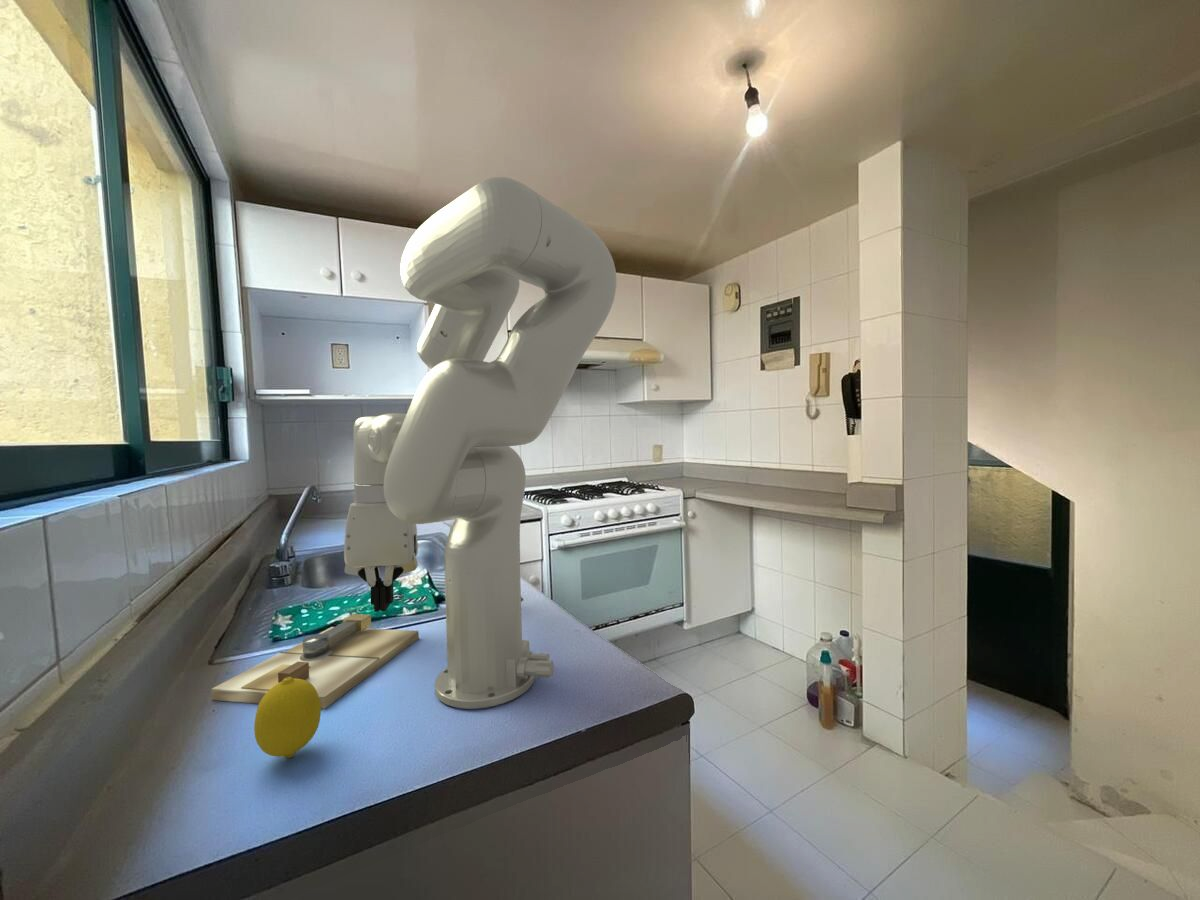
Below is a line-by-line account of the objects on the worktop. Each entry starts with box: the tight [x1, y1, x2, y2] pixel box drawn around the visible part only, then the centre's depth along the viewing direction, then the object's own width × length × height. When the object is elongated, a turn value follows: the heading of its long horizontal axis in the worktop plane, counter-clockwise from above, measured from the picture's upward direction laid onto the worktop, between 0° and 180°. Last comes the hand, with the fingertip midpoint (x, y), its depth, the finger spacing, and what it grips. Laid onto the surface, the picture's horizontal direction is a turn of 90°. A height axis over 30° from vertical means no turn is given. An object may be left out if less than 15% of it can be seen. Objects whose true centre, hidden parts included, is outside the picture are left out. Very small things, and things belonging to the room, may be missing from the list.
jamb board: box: [211, 626, 420, 710], centre depth 65 cm, size 16×20×3 cm
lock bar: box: [302, 613, 372, 657], centre depth 70 cm, size 11×3×2 cm, turn 170°
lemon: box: [253, 677, 322, 759], centre depth 46 cm, size 6×6×8 cm
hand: (382, 608), depth 73 cm, fingers closed
